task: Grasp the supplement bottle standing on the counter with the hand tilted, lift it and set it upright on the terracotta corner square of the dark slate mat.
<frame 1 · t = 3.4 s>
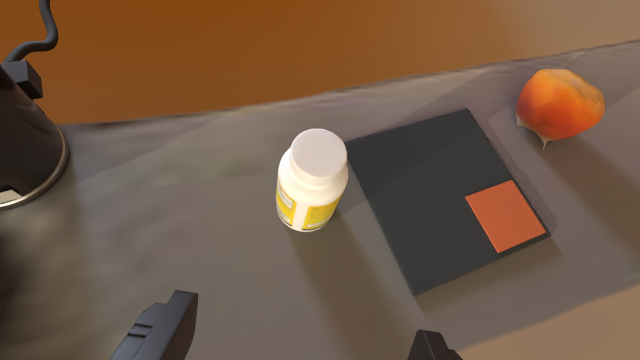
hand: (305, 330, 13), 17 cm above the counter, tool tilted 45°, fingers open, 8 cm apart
supplement bottle: (304, 205, 33), on the counter
corner mat: (443, 190, 36), on the counter
fruit: (536, 122, 42), on the counter
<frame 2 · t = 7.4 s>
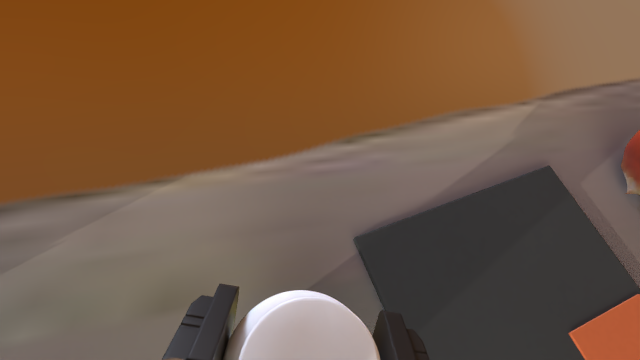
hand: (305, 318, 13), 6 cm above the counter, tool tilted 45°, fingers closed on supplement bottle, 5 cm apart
corner mat: (528, 318, 21), on the counter
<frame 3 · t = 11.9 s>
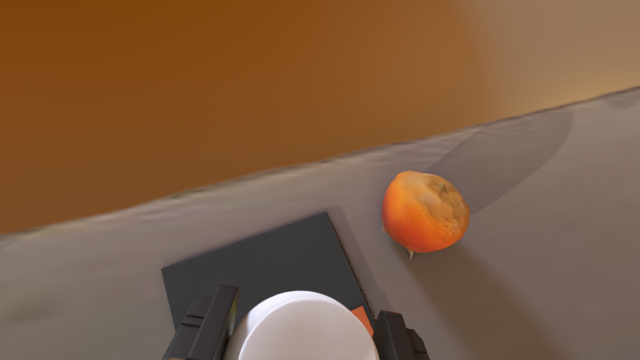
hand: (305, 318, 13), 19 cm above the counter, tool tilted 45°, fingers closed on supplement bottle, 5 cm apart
corner mat: (277, 323, 31), on the counter
fruit: (409, 223, 37), on the counter
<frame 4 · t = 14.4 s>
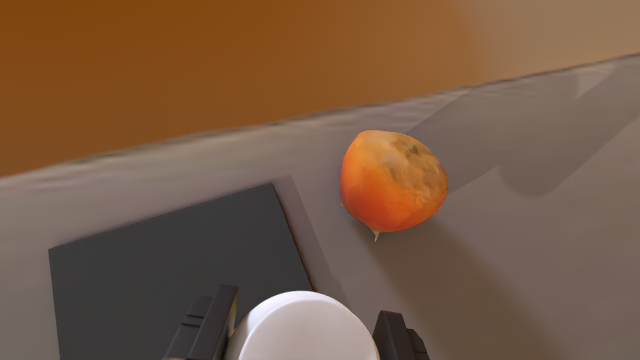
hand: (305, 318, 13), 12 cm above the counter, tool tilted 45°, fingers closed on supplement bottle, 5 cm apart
corner mat: (197, 320, 24), on the counter
fruit: (377, 198, 30), on the counter
when the fingers open (7 cm above the counter, at t = 16.4 s): supplement bottle stays where it is, resting on corner mat.
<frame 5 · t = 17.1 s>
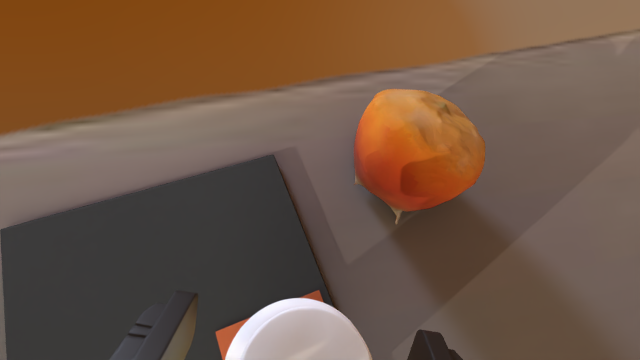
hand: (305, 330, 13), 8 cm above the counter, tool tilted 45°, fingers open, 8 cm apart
corner mat: (182, 316, 19), on the counter
fruit: (396, 174, 26), on the counter
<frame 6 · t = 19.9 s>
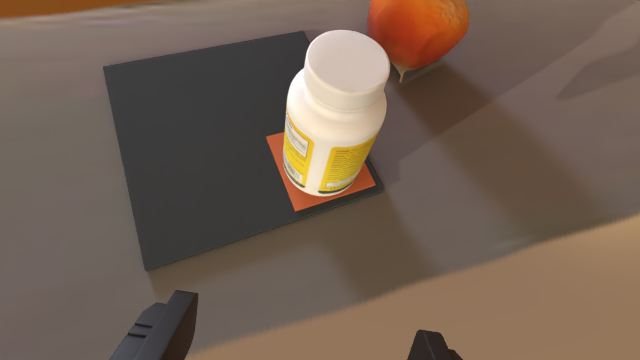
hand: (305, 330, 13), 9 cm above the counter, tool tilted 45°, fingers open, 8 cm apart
supplement bottle: (320, 164, 25), resting on corner mat
corner mat: (240, 129, 26), on the counter
fruit: (400, 52, 32), on the counter
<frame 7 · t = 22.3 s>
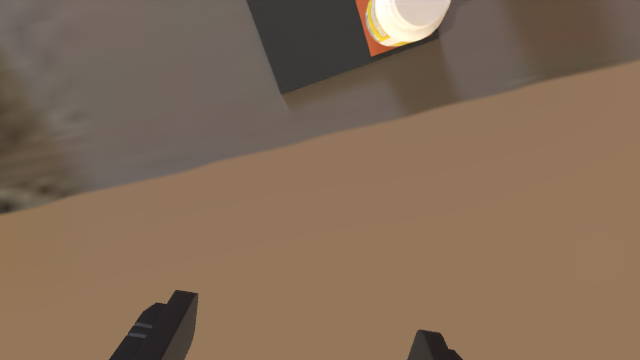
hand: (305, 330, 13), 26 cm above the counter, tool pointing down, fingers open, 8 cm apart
supplement bottle: (392, 16, 33), resting on corner mat
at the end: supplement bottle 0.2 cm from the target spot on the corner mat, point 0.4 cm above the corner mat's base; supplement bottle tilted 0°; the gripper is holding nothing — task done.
